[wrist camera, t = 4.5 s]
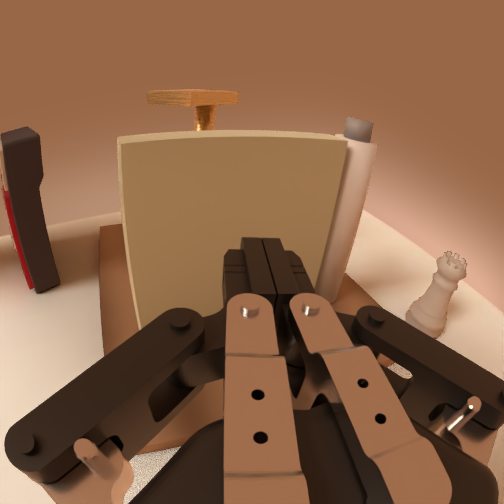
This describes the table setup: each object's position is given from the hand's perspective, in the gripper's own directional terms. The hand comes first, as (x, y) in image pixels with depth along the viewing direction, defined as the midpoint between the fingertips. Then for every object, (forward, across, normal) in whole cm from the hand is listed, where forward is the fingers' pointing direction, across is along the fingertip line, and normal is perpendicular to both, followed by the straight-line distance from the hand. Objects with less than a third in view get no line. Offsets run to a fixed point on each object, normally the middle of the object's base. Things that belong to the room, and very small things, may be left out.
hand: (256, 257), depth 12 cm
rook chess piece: (+6, -19, +12) cm, 23 cm away
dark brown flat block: (+15, +22, +12) cm, 29 cm away
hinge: (+7, -2, +10) cm, 13 cm away
